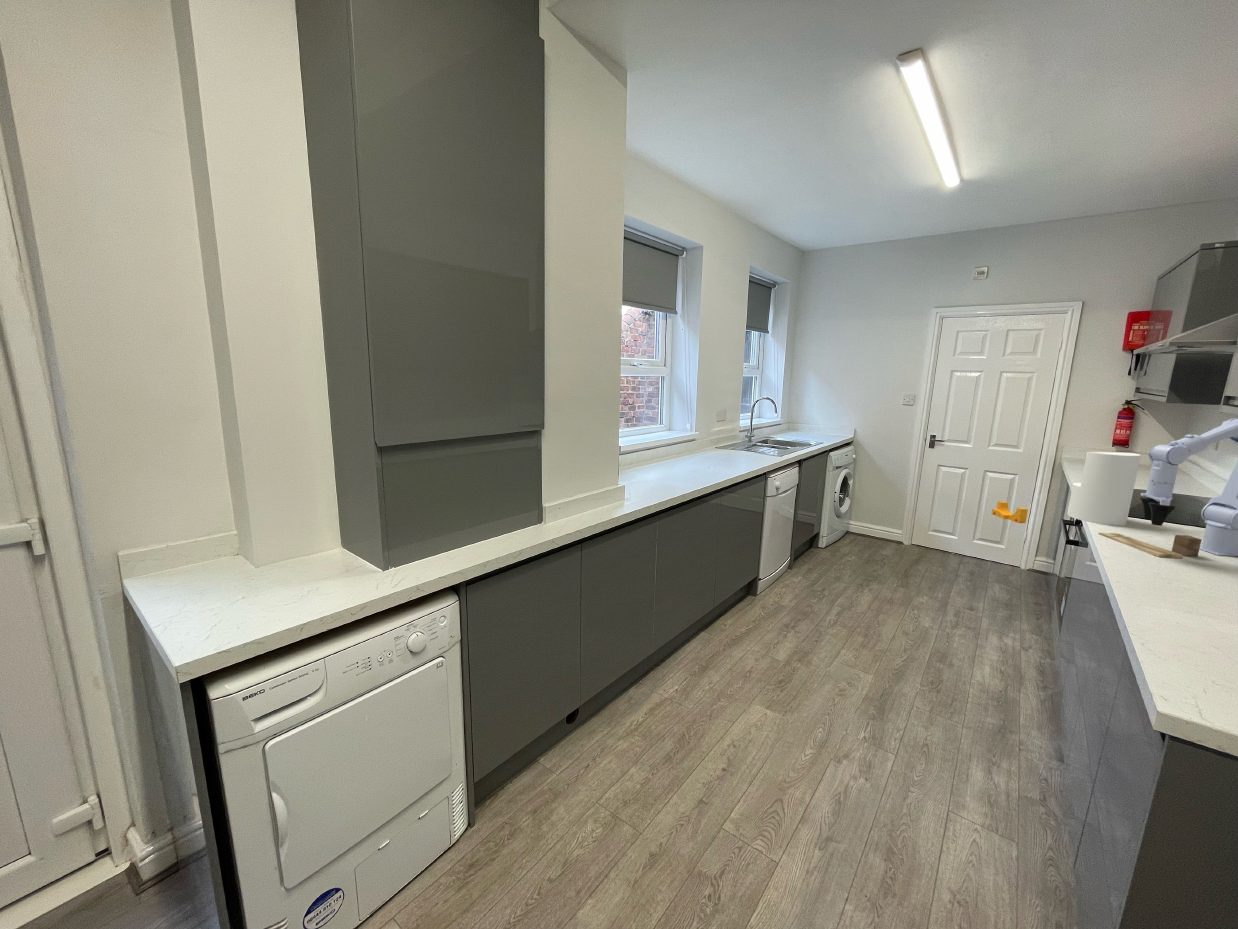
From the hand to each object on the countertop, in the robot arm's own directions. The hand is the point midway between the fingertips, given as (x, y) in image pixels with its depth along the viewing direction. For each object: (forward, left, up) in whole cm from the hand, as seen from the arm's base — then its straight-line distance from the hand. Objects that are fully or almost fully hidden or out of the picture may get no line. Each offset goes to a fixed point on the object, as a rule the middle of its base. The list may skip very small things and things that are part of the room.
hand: (1152, 522), depth 161 cm
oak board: (-1, -4, -10) cm, 11 cm away
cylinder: (-14, -36, -10) cm, 40 cm away
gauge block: (-9, +3, -10) cm, 14 cm away
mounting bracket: (+23, -31, -10) cm, 40 cm away
